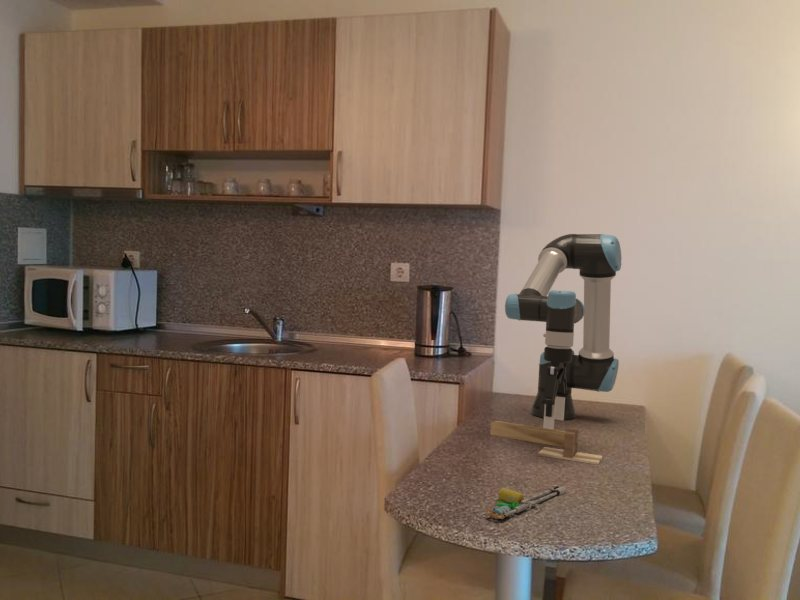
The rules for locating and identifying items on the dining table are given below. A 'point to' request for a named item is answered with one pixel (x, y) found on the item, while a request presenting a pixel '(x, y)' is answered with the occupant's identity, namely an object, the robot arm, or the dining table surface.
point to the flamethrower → (520, 501)
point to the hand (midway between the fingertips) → (553, 424)
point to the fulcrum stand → (571, 450)
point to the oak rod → (528, 433)
